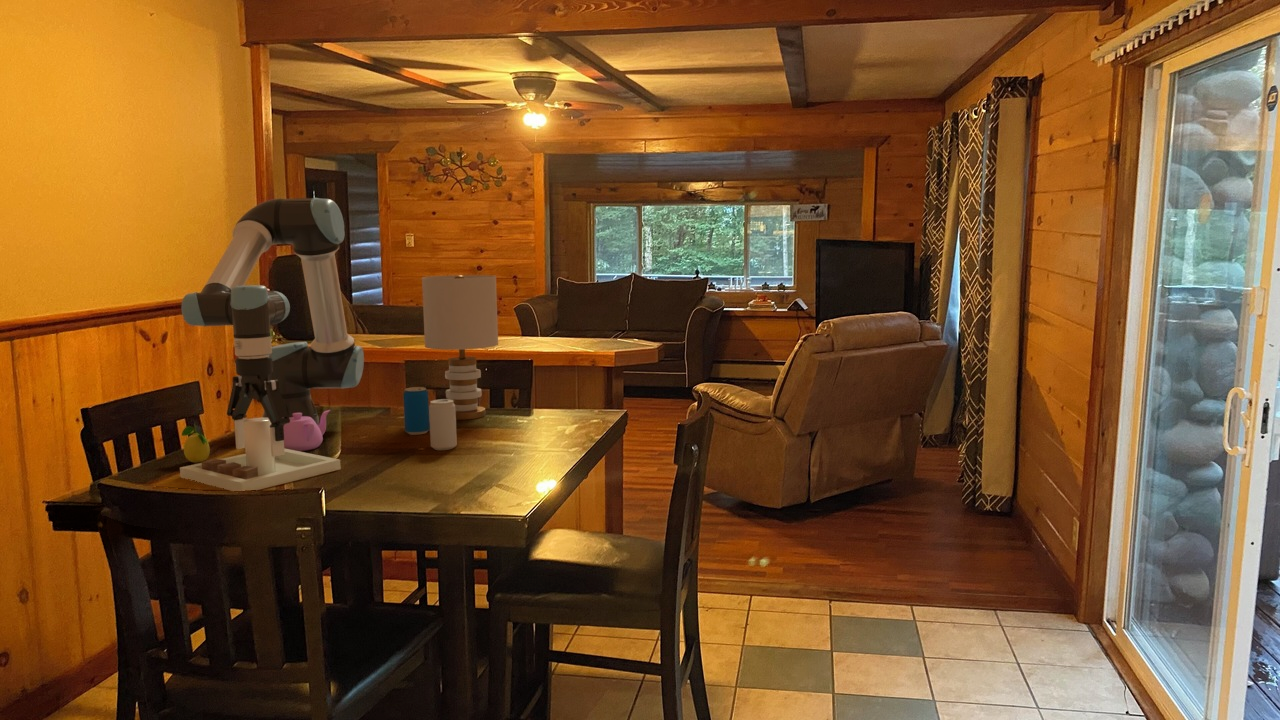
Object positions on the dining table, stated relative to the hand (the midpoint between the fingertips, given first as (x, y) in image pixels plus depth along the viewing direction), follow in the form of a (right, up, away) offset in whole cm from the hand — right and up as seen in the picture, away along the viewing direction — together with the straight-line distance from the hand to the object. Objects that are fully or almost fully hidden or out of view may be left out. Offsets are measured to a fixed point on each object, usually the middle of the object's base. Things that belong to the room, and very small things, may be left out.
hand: (260, 451), depth 213 cm
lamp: (+33, +4, +69) cm, 77 cm away
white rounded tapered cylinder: (0, -5, +1) cm, 5 cm away
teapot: (-2, -2, +30) cm, 30 cm away
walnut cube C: (+1, -6, -9) cm, 11 cm away
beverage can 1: (+24, 0, +46) cm, 52 cm away
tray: (0, -6, +1) cm, 6 cm away
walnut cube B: (-4, -6, -5) cm, 9 cm away
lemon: (-20, -5, +13) cm, 24 cm away
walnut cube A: (-9, -5, -2) cm, 11 cm away
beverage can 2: (+35, -2, +27) cm, 44 cm away
